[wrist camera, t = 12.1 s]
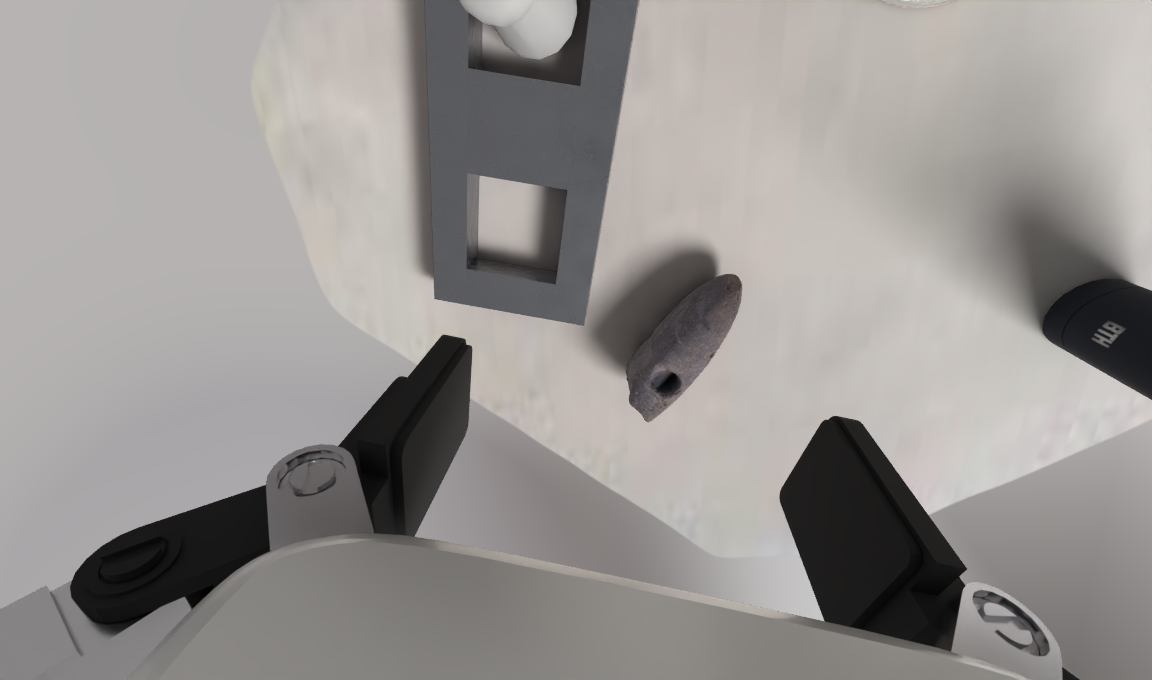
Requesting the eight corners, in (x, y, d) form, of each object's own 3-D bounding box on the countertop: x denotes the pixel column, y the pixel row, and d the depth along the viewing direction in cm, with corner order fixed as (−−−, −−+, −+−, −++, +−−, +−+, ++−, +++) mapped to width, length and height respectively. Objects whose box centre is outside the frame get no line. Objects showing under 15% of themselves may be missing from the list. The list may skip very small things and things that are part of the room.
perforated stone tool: (709, 249, 37) (724, 278, 31) (755, 282, 38) (778, 316, 32) (611, 366, 44) (608, 408, 38) (652, 390, 45) (656, 435, 39)
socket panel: (659, -120, 26) (662, -147, 23) (586, 311, 41) (583, 327, 38) (439, -152, 26) (416, -182, 24) (447, 286, 41) (433, 300, 39)
